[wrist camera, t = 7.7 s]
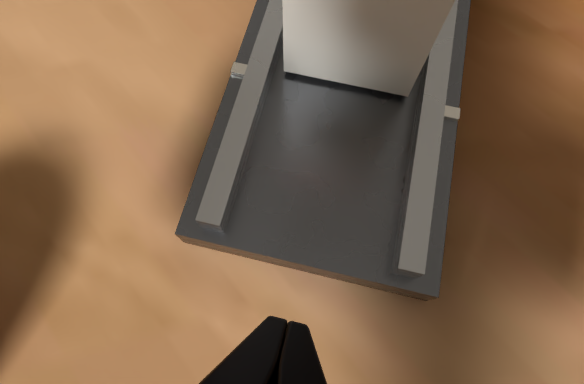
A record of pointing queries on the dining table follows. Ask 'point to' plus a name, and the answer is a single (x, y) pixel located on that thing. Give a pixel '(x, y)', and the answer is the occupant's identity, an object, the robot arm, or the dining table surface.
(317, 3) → the red-capped white pillar
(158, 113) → the dining table surface
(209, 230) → the press rail
